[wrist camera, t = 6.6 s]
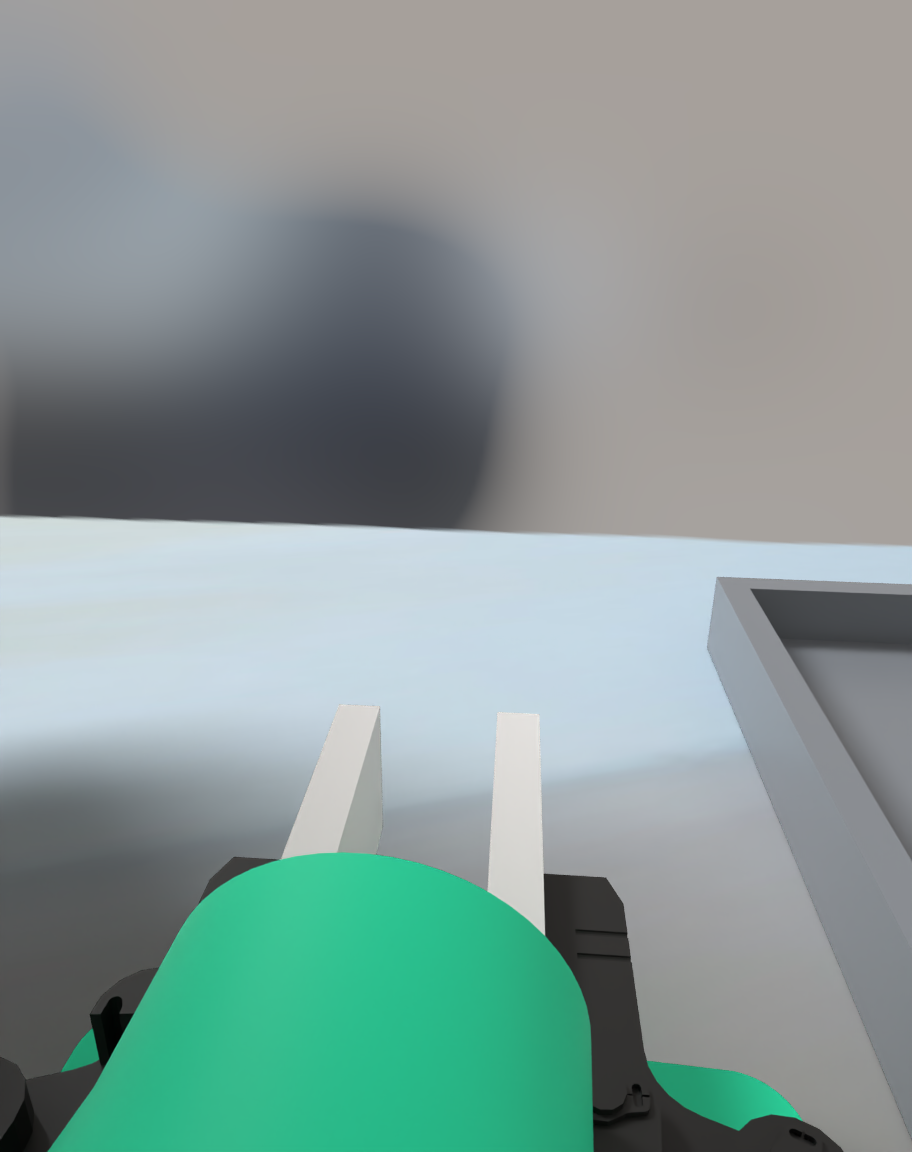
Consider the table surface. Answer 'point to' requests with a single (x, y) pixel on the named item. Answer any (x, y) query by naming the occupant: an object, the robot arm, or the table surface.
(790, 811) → the tray
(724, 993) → the table surface
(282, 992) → the green mounting bracket
